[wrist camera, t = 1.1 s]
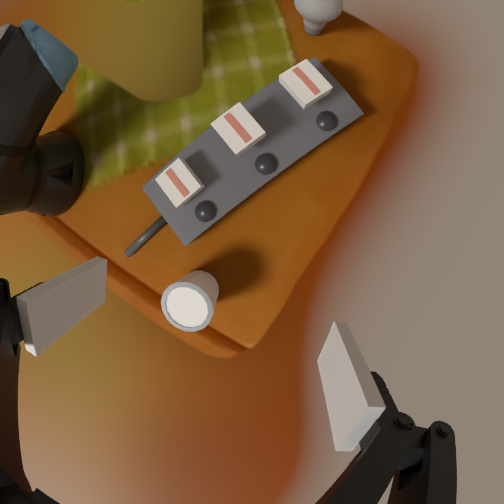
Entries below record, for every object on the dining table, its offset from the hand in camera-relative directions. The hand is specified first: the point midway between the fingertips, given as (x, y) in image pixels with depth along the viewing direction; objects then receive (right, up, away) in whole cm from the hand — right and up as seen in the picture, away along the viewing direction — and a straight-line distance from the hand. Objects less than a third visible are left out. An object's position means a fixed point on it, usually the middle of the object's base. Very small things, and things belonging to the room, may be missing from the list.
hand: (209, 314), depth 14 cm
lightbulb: (+11, +36, +15) cm, 41 cm away
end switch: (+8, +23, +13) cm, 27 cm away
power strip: (-2, +14, +21) cm, 26 cm away
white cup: (-5, -2, +25) cm, 26 cm away
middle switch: (+1, +17, +15) cm, 23 cm away
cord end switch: (-6, +12, +19) cm, 23 cm away
